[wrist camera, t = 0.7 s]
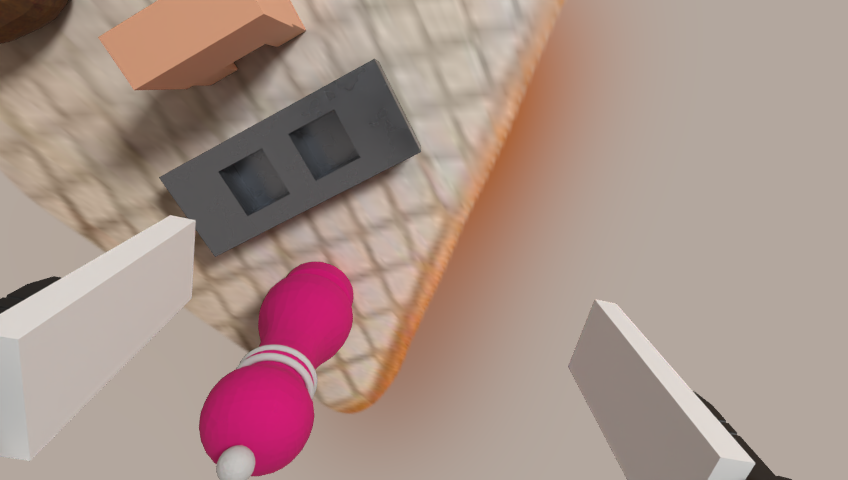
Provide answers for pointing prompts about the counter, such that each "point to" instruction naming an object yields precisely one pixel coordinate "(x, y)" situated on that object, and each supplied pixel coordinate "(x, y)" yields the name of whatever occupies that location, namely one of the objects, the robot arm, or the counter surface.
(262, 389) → the pepper mill
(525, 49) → the counter surface
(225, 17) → the peach wedge-cut bar
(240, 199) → the rail
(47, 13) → the potato
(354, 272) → the counter surface
